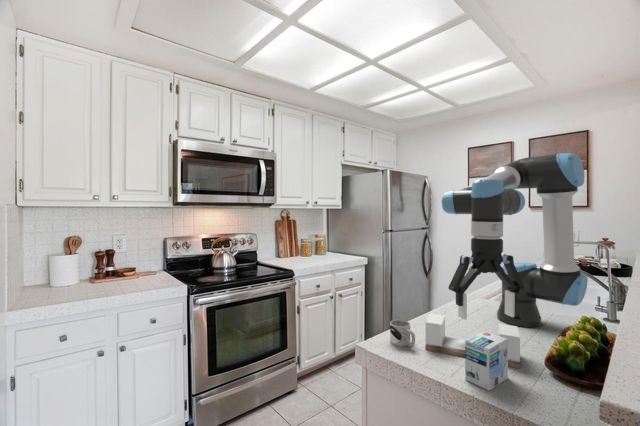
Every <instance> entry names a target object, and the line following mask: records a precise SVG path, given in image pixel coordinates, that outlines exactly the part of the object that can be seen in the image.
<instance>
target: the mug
mask: <svg viewBox="0 0 640 426" xmlns="http://www.w3.org/2000/svg"><path fill="white" fill-rule="evenodd" d="M389 328H390V329H389V330H390V331H389V337H390V338H389V342H390V344H391V345H392V346H395V347H400V348H406V347H408V346H409V347H415V345H416V334H415V332H413V331H412V329H411V323H410V322H409V321H408V320H404V319H392V320H391V321H390V322H389Z"/></svg>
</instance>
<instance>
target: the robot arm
mask: <svg viewBox="0 0 640 426" xmlns="http://www.w3.org/2000/svg"><path fill="white" fill-rule="evenodd" d="M584 183H585V169H584V166H583V163H582V160H581V158H580V157H579V156H578V155H577V154H576V153H573V152H565V153H559V152H558V153H555V154H546V155H539V156H529V157H524V158H523V157H522V158H520V159H517V160H514V161H512V162H511V161H510V162H509V163H507V164H504V165H502V166H501V167H499V168H497V169H496V170H495V171H494V172H493V174H490V175H488V176H486V177H483V178H482V179H477V180H474V181H473V182H472V183H471V184H470V185H468V186H466V187H464V188H461V189H459V190H455V189H454V190H451V191H446V192H445V193H444V194H443V195H442V197H441V207H442V210H443V211H444V212H445V213H446V214H452V215H471V220H470V225H471V226H470V235H471V237H472V238H471V239H470V250H471V255H470V256H466V255H462V254H461V255H460V257H459V264H458V266H457V268H456V270H455V272H454V274H453V277H452V279H451V281H450V283H449V285H448V290H450V291H451V292H453V293H455V305H456V306H458V307H457V308H458V309H457V311H458V312H457V315H458V317H459V318H461V319H462V320H467V316H468V307H467V306H468V295H467V294H466V293H465V292H466V291H467V290H468V289H469V287H470V286H471V285H472V284H473V282H474V281H475V280H476V278H477V277H478V276H480V275H481V274H487V273H491V274H494V273H495V275H496V276H497V278H499V280H500V281H501V301H500V304H499V306H498V309H497V311H496V317H497V319H498V320H499V321H501V322H502V323H504V324H507V325H511V326H517V327H522V328H537V327H538V328H539V327H540V326H541V325H542V316H541V313H540V311H539V308H538V305H537V299H538V300H542V301H546V302H550V303H551V302H552V303H556V304H561V305H567V306H572V307H576V306H579V305H580V304H581V303H582V302H583V300H584V299H585V295H586V292H587V289H588V288H587V287H588V282H589V281H588V276H587V274H584V273H581V267H580V266H579V265H577V263H575V243H574V242H575V241H574V212H573V211H574V207H573V196H575V194H576V193H578V188H579V187H582V186H583V185H584ZM519 189H520V190H521V189H536V194H537V195H538V196H539V197H540V198H541V203H542V206H541V207H542V228H543V251H544V262H542V263H540V264H539V267H538V266H537V263H532V262H515V261H514V256H512V255H509V254H506V253H505V254H503V252H504V240H503V239H502V237H504V216H513V215H515V214H518V213H520V212H522V210H523V209H524V207H525V205H526V199H525V196H524V194H523V192H521V191H519ZM502 254H503V255H502ZM502 263H503V265H502V266H501V264H502ZM469 266H470V267H469Z"/></svg>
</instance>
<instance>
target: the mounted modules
mask: <svg viewBox="0 0 640 426" xmlns="http://www.w3.org/2000/svg"><path fill="white" fill-rule="evenodd" d="M518 327H519V326H515V325H511V324H505V323H504V324H503V323H498V336H500V337H503V338H506V339H508V359H510V360H515V361H520V362H521V336H520V332H519V328H518ZM445 337H446V316H445V315H443V314H437V313H436V314H435V313H429V315H428V317H427V318H426V321H425V345H426V344H432V345H437V346H442V345H443V341H444V338H445Z"/></svg>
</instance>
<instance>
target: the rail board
mask: <svg viewBox="0 0 640 426" xmlns="http://www.w3.org/2000/svg"><path fill="white" fill-rule="evenodd" d="M465 340H466V339H461V338H458V337H457V338H455V337H449V336H445V338H444V341H443V345H442V346H437V345H432V344H426V343H425V351H426V350H427V351H431V352H435V353H442V354H447V355H450V356H456V357H462V358H465ZM508 367H511V368H516V369H521V360H520V361H515V360H510V359H508Z"/></svg>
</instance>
